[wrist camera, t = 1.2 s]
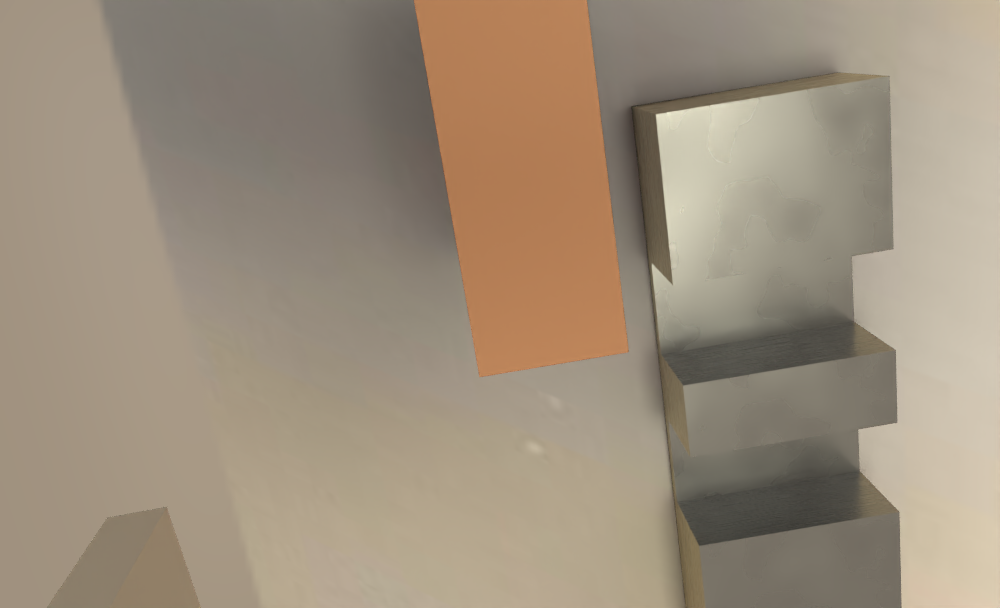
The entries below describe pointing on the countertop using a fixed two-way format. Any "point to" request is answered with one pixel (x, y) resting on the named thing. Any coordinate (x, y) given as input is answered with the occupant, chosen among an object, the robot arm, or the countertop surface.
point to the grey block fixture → (772, 337)
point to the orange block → (525, 178)
